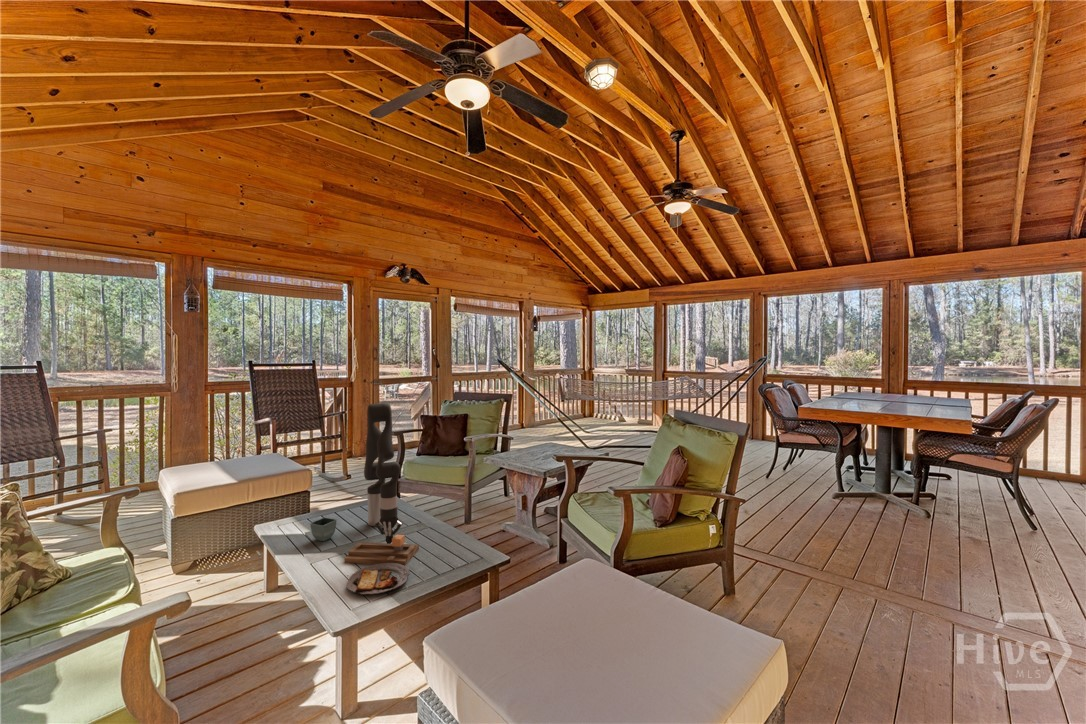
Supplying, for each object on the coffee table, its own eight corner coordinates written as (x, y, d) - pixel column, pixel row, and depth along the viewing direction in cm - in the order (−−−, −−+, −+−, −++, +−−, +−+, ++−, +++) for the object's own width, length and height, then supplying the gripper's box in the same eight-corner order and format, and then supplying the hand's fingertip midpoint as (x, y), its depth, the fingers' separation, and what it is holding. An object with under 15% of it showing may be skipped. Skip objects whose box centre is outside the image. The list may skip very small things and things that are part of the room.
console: (363, 546, 213) (362, 539, 213) (418, 548, 210) (418, 541, 210) (344, 562, 197) (344, 554, 197) (404, 565, 194) (404, 557, 194)
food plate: (403, 595, 170) (403, 586, 170) (339, 602, 167) (339, 593, 167) (412, 566, 195) (412, 558, 195) (356, 571, 191) (356, 563, 191)
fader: (396, 549, 205) (396, 534, 205) (404, 549, 205) (404, 535, 205) (392, 553, 201) (392, 538, 201) (400, 554, 200) (400, 539, 200)
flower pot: (309, 541, 219) (309, 523, 219) (324, 534, 227) (324, 517, 227) (322, 544, 216) (322, 526, 216) (337, 536, 224) (337, 519, 224)
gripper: (406, 503, 205) (406, 540, 206) (379, 502, 207) (379, 538, 207) (399, 509, 198) (399, 547, 199) (371, 508, 199) (371, 546, 200)
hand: (389, 542), depth 203 cm, fingers closed
